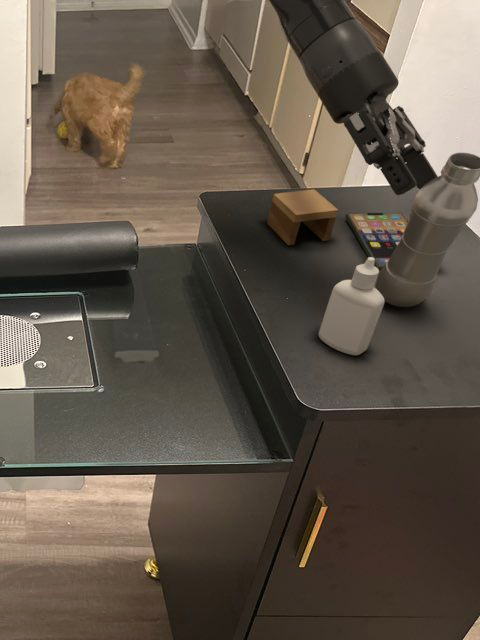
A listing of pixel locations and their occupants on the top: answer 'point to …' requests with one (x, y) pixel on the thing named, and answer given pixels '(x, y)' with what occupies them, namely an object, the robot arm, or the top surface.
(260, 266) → the top surface
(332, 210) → the small wooden table
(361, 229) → the smartphone
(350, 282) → the eye dropper bottle
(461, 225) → the plastic bottle
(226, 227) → the top surface
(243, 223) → the top surface
